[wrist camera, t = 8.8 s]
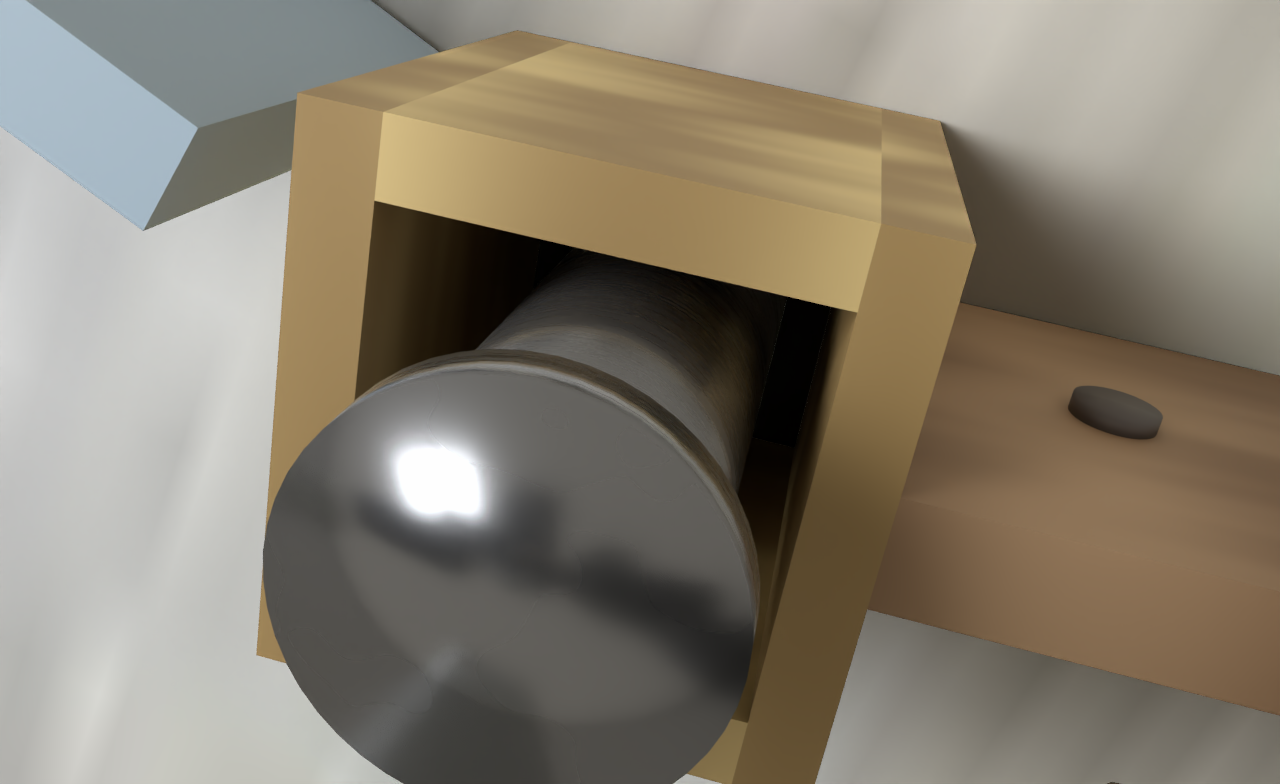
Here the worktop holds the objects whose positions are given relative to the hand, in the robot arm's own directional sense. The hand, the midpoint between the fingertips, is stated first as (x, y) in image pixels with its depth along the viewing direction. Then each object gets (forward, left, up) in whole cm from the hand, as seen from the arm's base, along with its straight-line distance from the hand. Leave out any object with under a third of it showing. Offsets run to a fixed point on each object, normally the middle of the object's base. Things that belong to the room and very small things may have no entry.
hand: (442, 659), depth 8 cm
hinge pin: (0, 0, -10) cm, 10 cm away
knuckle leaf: (-5, 0, -10) cm, 12 cm away
